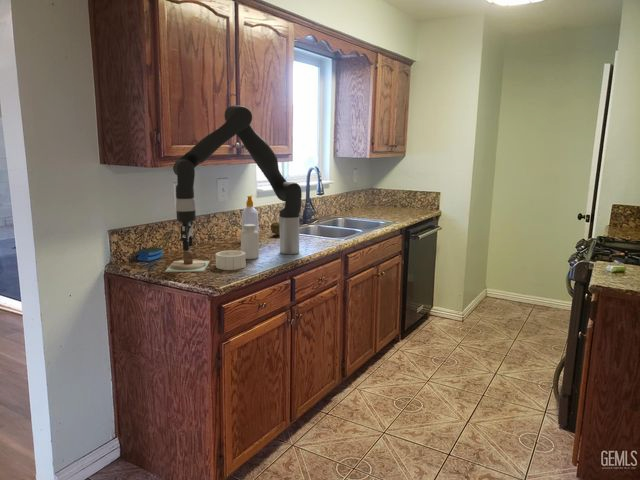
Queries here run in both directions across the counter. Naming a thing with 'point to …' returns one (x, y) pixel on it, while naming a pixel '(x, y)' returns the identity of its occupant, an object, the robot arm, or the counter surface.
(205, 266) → the mat
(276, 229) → the potato
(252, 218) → the soap bottle
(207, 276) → the counter surface
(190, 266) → the lid
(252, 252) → the pill bottle
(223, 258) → the bowl
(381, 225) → the counter surface
